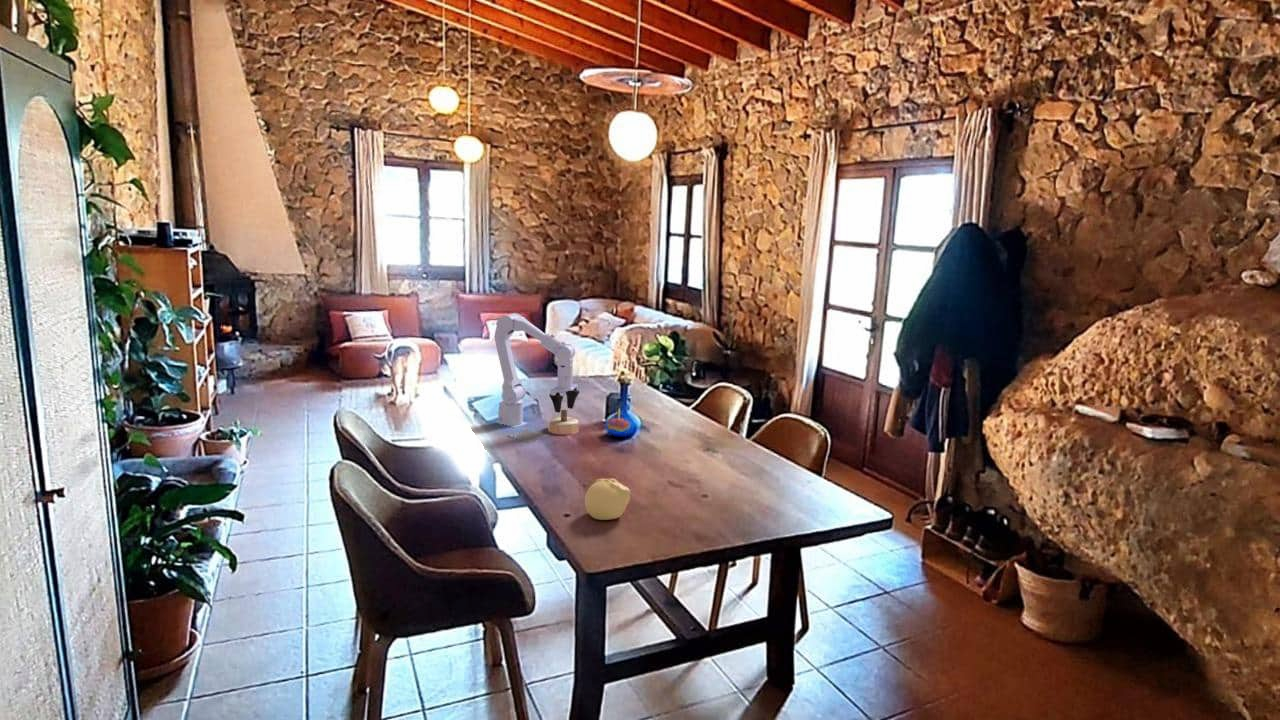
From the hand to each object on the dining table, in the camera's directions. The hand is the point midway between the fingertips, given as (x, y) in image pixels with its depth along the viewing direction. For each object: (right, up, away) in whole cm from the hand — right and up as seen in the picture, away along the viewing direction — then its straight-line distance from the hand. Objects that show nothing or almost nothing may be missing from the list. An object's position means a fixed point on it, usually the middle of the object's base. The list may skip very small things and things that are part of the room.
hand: (563, 410), depth 283 cm
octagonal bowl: (0, -8, +2) cm, 8 cm away
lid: (0, -5, +1) cm, 5 cm away
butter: (+20, -25, -77) cm, 83 cm away
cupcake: (+21, -10, -2) cm, 24 cm away
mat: (-13, -9, -8) cm, 18 cm away
